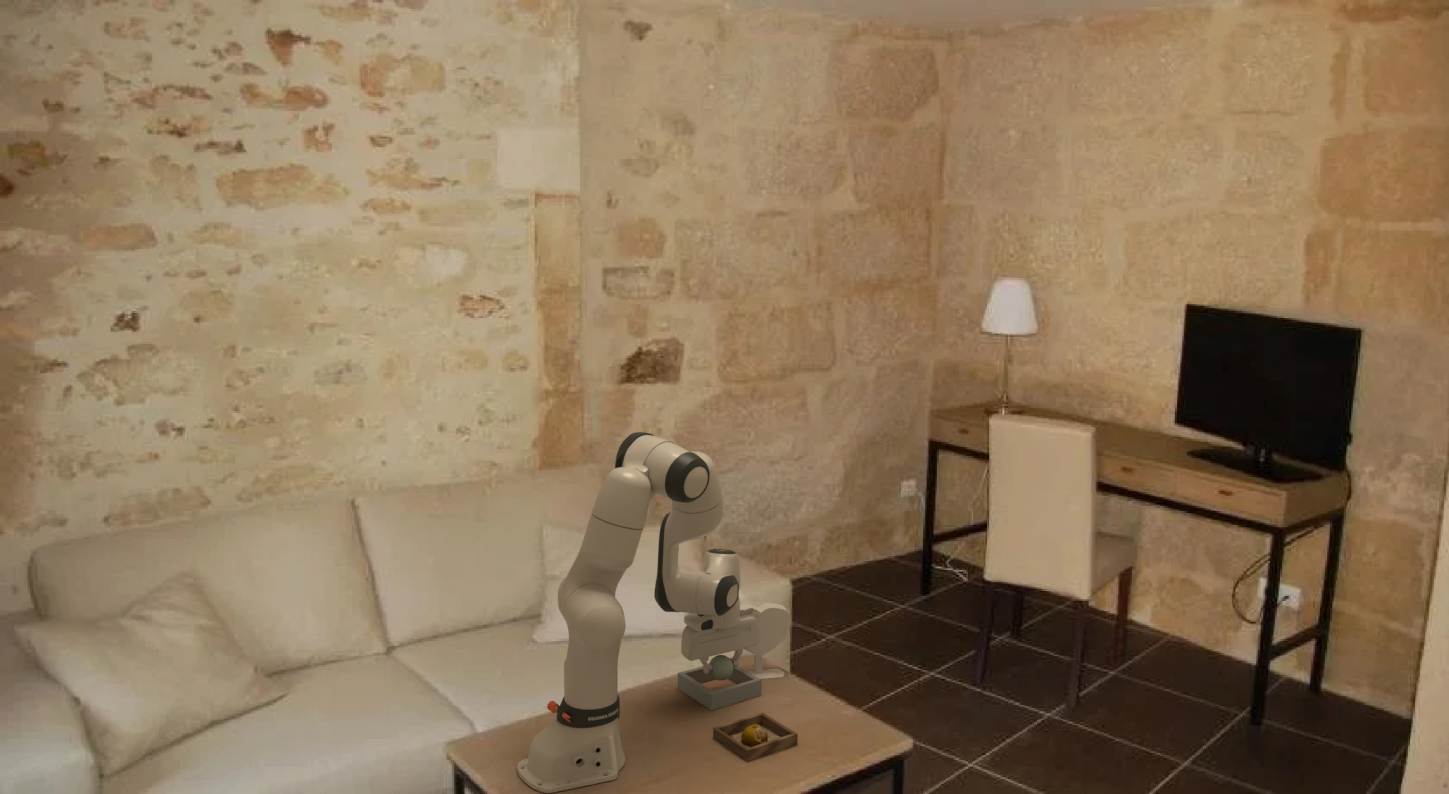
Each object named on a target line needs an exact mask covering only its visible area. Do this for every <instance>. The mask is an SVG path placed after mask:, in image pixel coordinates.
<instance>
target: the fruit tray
mask: <svg viewBox="0 0 1449 794" xmlns="http://www.w3.org/2000/svg"><path fill="white" fill-rule="evenodd" d="M753 724H759V725H760V726H761V727H764V729H765V728H766V729H767V730H769V731H771V733H773V734H774V735H776V736H781V738H779V737H777V738H775V739H774V740H772V741H769V742H766V743H763V744H760V745H757V746H754V747H751V746H750V747H747V745H746V746H745V744H744V743H743V744H742V743H741V742H739V741H738V740H737V739H735V738H734V737H732V736H733V735H735V734H738V732H739V733H741V732H742V733H743V731H744V729H745V728H746V727H748V726H750V725H753ZM712 730H713V731H712V735H713V736H712V738H713V740H714V741H716V742H718V743H719V744H721V746H724V747H725V748H726V749H727V750H730V751H731V752H732V753H733V754H736V756H738V757H740V759H742V760H744V761H745V762H747V763H748V762H751V761H753V760H757V759H759V758H763V757H766V756H768V755H772V754H775V753H777V752H780V751H783V750H786V749H789V748H791V747H792V748H793V747H795V746H798V741H799V740H798V736H799V735H798V733H797V732H795V731H794V730H793V729H790V728H788V727H787V726H786V725H784V724H782V723H781V722H779V721H777V720H775V719H774V718H772V716H771V717H770V716H769V715H767V714H766V713H764V712H760V713H756V714H754V715H750V716H747V717H744V718H741V719H738V720H734V721H731V722H727V723H724V724H722V725H718V726H715V727H713V728H712Z"/></svg>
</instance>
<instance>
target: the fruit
mask: <svg viewBox="0 0 1449 794" xmlns="http://www.w3.org/2000/svg"><path fill="white" fill-rule="evenodd" d="M740 737H741V740H742V742H743V745H746V747H747V746H749V747H750V748H751V747H754V746H757V745H760V744H763V743H766V742H769V741H772V740H775V739H778V738H781V736H778V735H768V732H767V730H766V729H765V728H763V726H762V725H759V724H753V725H750V726H748V727H746V728H745V729H744V731H742V733H741V736H740ZM774 738H775V739H774Z"/></svg>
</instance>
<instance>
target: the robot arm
mask: <svg viewBox="0 0 1449 794" xmlns="http://www.w3.org/2000/svg"><path fill="white" fill-rule="evenodd" d="M656 494H657V495H659V496H662V497H664V498H669V499H670V501H671V511H670V512H668V513H666V514H665V515H664V516H663V519H662V521H661V523H660V524H661V525H660V527H659V534H658V548H657V568H656V569H657V571H656V578H655V583H654V584H655V586H654V594H653V595H654V596H653V597H654V600H655V602H656V603H657V605H658V606H659V607H660V609H661V610H663V611H664V612H665V613H685V614H686V615H685V616H684V619H683V622H684V624H685V625H686V626H685V627H684V628H683V630H682V634H681V645H680V646H681V647H680V649H681V650H680V651H681V652H680V653H681V655H682V656H683V657H684V658H685V659H687V660H688V661H689V662H690V661H691V662H693V661H696V660H699V662H700V663H701V664H702V666H703V671H704V673H706V674H708V673H712V666H711V665H710V664H709V662H708V661H710V660H709V658H711V657H712V656H713V657H715V656H717V655H724V654H725V653H726V654H727V653H730V652H734V654H733V655H732V657H731V658H730V657H729V658H730V659H731V661H732V663H733V667H737V666H738V667H740V666H739V665H740V664H739V663H740V659H741V657H742V655H743V653H744V650H745V649H744V648H748V647H752V646H756V645H758V643H759V641H760V633H759V625H758V612H757V611H756V610H755V609H753V608H749V609H746V610H740V606H741V600H740V595H739V593H740V592H739V591H740V588H741V569H740V568H741V567H740V560H739V555H738V552H735V551H734V550H731V549H726V548H711V549H708V550H707V551H706V552H705V555H704V557H705V558H704V565H703V571H696V570H687V569H684V568H682V567H680V565H679V554H680V553H679V550H680V544H683V543H685V542H689V541H693V540H698V539H701V538H704V537H706V536H708V535H710V534H711V533H712V532H713V531H715V530H716V529H717V527H718V526H719V525H720V523H721V522H722V519H723V516H724V514H723V513H724V504H723V495H722V488H721V482H720V479H719V475H718V472H717V469H716V466H715V463H714V462H713V459H712V458H711V457H710V456H709V455H708V454H706V453H704V452H703V451H702V452H701V451H695V450H694V451H693V450H692V451H689V450H687V449H686V448H684V447H682V446H680V445H678V444H677V443H676V442H674V441H672V440H669V439H666V438H664V437H660V436H656V435H654V434H653V433H649V432H642V431H638V432H637V431H635V432H632V433H631V434H629V435H628V436H626V438H625V439H624V440H623V441H622V442H621V444H620V445H619V447H618V449H617V453H616V457H615V464H614V469H612V470H611V471H610V472H609V473H608V474H607V476H606V477H605V479H604V481H603V483H602V485H601V487H600V489H599V492H598V495H597V496H596V499H595V502H594V505H593V507H592V510H591V514H590V516H589V520H588V522H587V523H588V524H587V527H586V530H585V533H584V537H583V540H582V542H581V546H580V548H579V551H578V553H577V555H576V558H575V560H574V561H573V564H572V565H571V567H570V569H569V571H568V573H567V575H566V577H564V578H563V579H562V581H561V583H560V585H559V587H558V591H557V607H558V609H559V612H560V614H561V615H562V617H563V619H564V621H565V623H566V626H567V627H566V628H567V630H568V643H567V645H568V646H567V652H566V657H565V660H564V661H563V692H564V693H563V698H562V699H561V702H560V704H559V703H557V702H556V701H554V700H550V701H549V702H548V703H547V704H546V707H547V710H548V711H549V712H551V713H552V714H556V717H555V718H553V720H551V722H550V723H549V724H547V725H546V727H545V728H543V729H542V730H541V731H540V732H539V733H538V734H537V735H535V737H534V738H533V739H532V740H531V742H530V745H529V748H528V749H529V750H528V754H527V756H528V757H527V758H524V759H522V760H520V761H518V762H517V767H516V770H517V774H518V776H519V778H520V779H521V780H522V781H523V782H524V783H525V784H526V785H527V786H529V787H530V788H532V789H533V790H535V791H538V792H541V793H545V794H552V793H557V792H562V791H568V790H572V789H576V788H581V787H586V786H590V785H596V784H601V783H606V782H611V781H614V780H616V779H617V778H618V777H619V772H620V770H621V769H622V768H623V767H624V765H625V764H626V755H625V753H624V749H623V746H622V745H623V744H622V739H621V733H620V725H619V724H620V723H619V719H620V715H621V705H620V704H621V701H620V696H619V693H618V689H619V687H618V685H619V684H618V683H619V682H618V681H619V679H618V675H619V672H618V667H619V666H618V662H619V655H620V650H621V645H622V639H623V637H624V635H625V634H626V633H625V632H626V627H627V626H626V624H627V623H626V617H625V613H624V609H623V607H622V605H621V604H620V602H619V601H618V600H617V599H618V598H617V597H616V592H617V587H618V585H619V584H620V581H621V580H622V578H623V576H624V574H625V572H626V571H627V570H628V569H629V568H630V567H631V566H632V565H633V563H634V560H635V557H636V553H637V550H638V547H639V545H640V541H641V537H642V534H643V530H644V527H645V524H646V521H647V516H648V511H649V507H650V502H651V501H652V499H653V498H654V496H655V495H656Z"/></svg>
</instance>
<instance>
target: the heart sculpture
mask: <svg viewBox="0 0 1449 794" xmlns="http://www.w3.org/2000/svg"><path fill="white" fill-rule="evenodd" d="M749 608H753V609H755V610H756V611H757V612H758V625H759V633H760V641H759V643H758V645H756V646H752V647H748V648H744V649H743V650H745V651H746V652H749V654H752V655H754V657H753V670H746V671H747V672H748V673H750V674H752V675H754V676H755V677H757V678H759V679H761V680H762V679H772V678H773V679H775V678H776V679H777V678H783V677H784V676H785V672H784V671H782V669H779V668H772V669H770V668H769V669H763V657H764V656H765V655H766V654H768V653H770V652H771V651H772V650H774V649H776V648H777V647H778V646H779V645H780V644H781V643H782V642H783V641H784V640H785V639H786V637H787V635H788V634H789V632H790V630H791V624H792V617H791V612H790V611H789V610H788V609H787V608H786V607H785V606H784V605H782V604H779V603H773V602H765V603H763V604H761V605H759V606H756V605H754V604H751V603H747V604H740V610H746V609H749Z"/></svg>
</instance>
